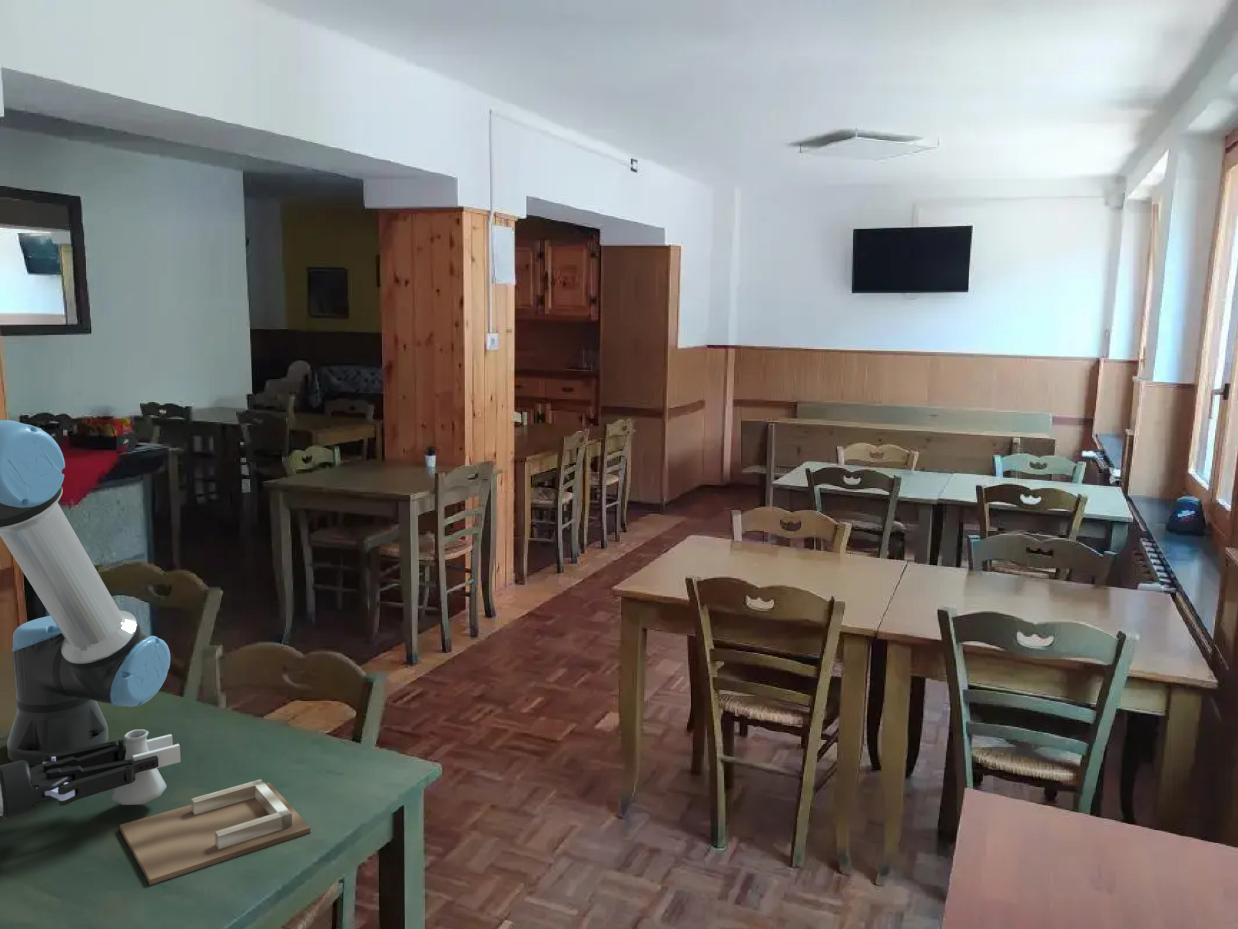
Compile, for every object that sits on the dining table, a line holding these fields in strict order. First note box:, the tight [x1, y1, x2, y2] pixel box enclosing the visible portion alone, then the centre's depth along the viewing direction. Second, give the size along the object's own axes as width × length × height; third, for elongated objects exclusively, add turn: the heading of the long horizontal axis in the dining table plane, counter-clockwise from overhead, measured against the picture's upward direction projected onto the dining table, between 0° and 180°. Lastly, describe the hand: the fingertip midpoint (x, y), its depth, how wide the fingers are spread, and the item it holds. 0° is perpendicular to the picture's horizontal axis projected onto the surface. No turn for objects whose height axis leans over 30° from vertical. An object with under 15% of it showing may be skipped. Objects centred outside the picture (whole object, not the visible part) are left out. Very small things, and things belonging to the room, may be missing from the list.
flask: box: [111, 729, 168, 806], centre depth 144 cm, size 7×7×10 cm
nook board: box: [119, 778, 311, 886], centre depth 140 cm, size 17×22×3 cm
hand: (175, 748), depth 148 cm, fingers closed on flask, 3 cm apart
